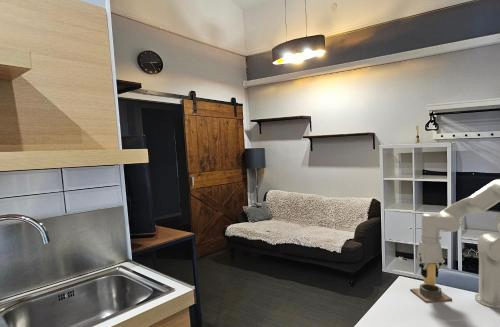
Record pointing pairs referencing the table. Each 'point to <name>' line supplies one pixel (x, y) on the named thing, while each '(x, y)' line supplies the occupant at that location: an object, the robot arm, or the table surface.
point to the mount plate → (444, 297)
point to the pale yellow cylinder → (430, 274)
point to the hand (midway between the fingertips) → (429, 275)
